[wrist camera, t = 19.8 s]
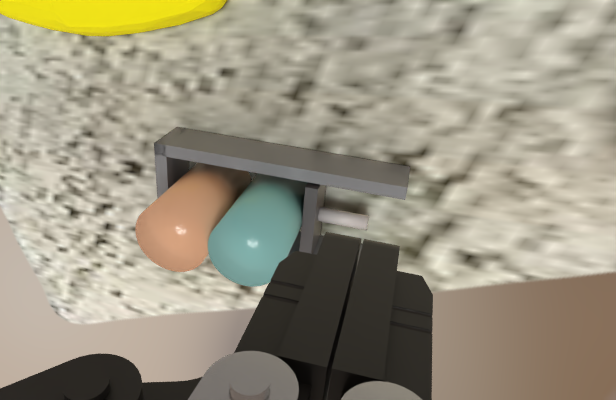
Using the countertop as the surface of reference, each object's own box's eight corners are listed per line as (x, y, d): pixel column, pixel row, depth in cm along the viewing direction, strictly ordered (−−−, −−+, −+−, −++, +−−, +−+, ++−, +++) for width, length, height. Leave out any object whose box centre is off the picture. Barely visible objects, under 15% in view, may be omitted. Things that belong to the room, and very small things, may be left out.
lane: (180, 217, 47) (160, 238, 44) (176, 127, 43) (154, 142, 39) (391, 259, 44) (387, 286, 40) (410, 166, 40) (407, 187, 36)
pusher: (309, 232, 44) (298, 256, 41) (316, 166, 41) (305, 187, 38) (365, 243, 43) (358, 269, 40) (376, 177, 40) (370, 199, 37)
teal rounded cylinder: (252, 213, 45) (208, 277, 36) (253, 158, 43) (207, 212, 34) (311, 224, 44) (280, 293, 36) (316, 168, 42) (285, 227, 33)
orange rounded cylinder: (194, 203, 46) (138, 263, 37) (193, 148, 43) (132, 198, 35) (251, 214, 45) (207, 278, 37) (253, 159, 43) (206, 213, 34)
